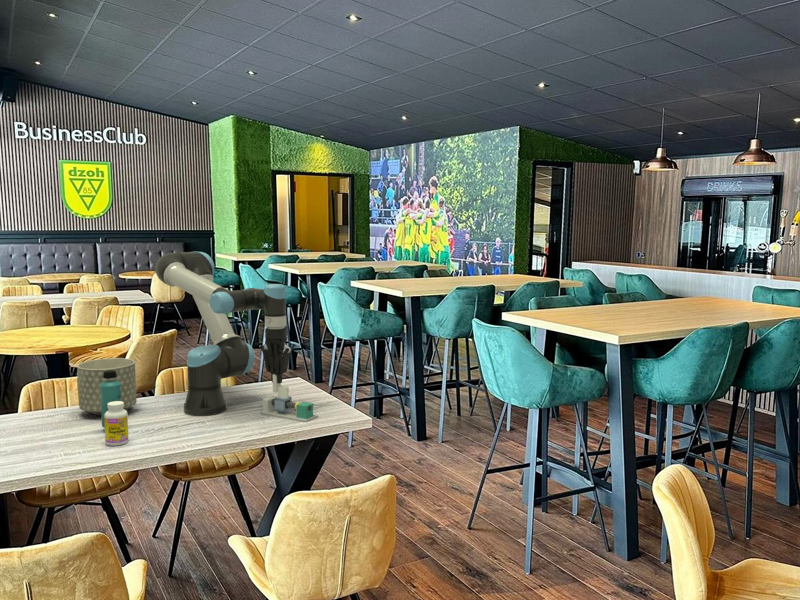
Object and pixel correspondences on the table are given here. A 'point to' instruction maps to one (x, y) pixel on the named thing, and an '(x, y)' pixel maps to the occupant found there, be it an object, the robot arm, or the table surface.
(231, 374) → the robot arm
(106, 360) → the planter
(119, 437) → the supplement bottle
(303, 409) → the slider rail
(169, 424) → the table surface
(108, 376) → the beverage bottle
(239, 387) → the table surface
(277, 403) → the pale blue hollow box
